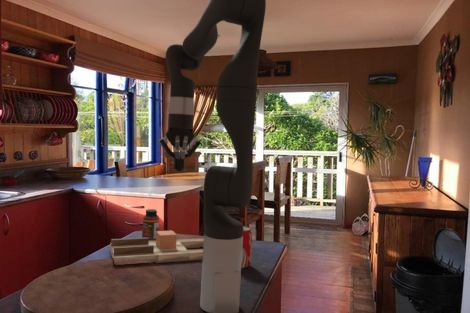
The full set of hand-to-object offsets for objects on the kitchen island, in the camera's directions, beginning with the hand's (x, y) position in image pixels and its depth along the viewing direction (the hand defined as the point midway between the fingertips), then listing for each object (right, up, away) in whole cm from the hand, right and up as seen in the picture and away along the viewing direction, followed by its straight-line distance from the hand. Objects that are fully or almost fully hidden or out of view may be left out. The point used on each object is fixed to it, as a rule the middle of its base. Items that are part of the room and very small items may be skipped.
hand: (178, 171), depth 118 cm
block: (-6, -26, +13) cm, 29 cm away
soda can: (+18, -30, +5) cm, 36 cm away
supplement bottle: (-15, -27, +29) cm, 42 cm away
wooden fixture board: (-6, -28, +13) cm, 31 cm away
